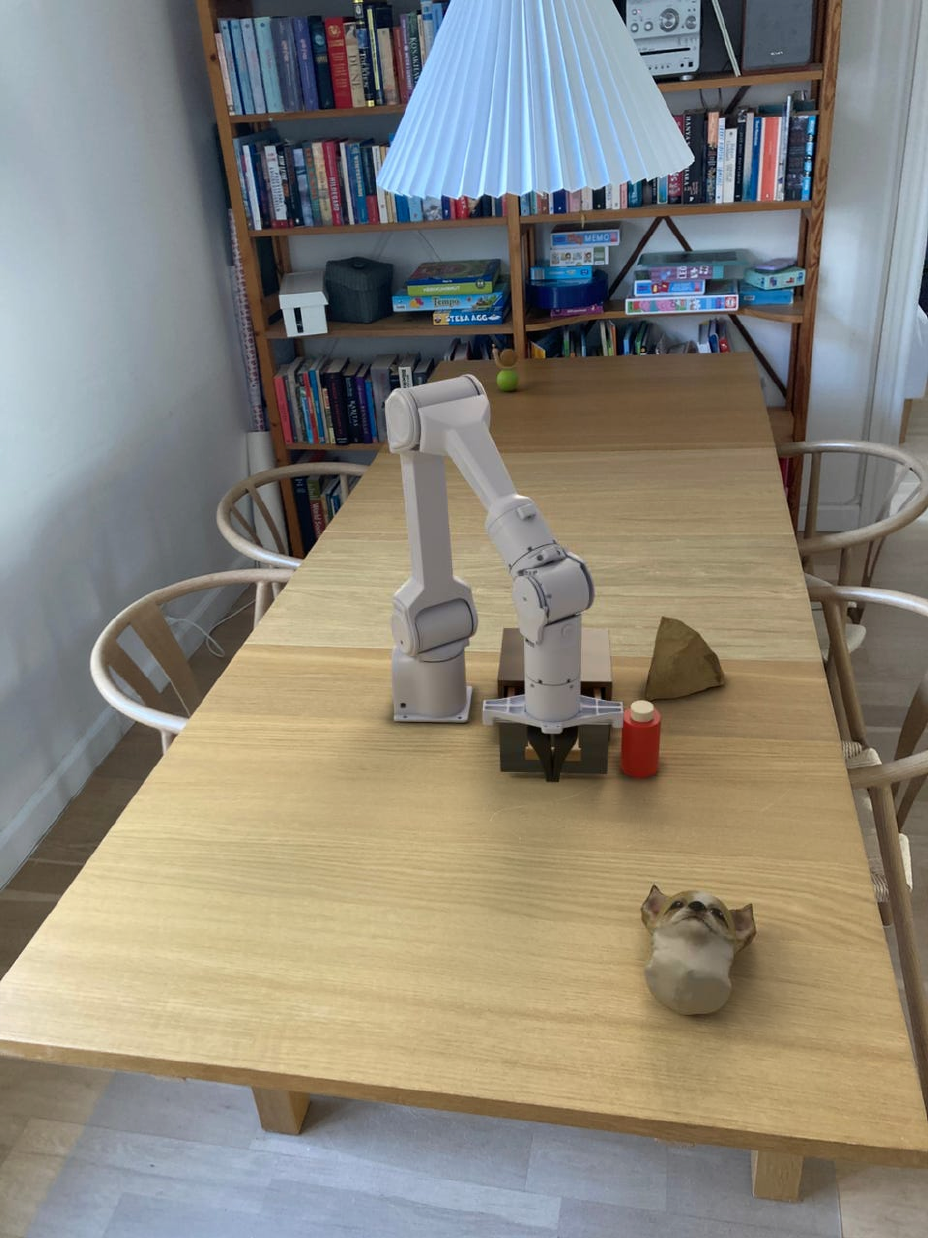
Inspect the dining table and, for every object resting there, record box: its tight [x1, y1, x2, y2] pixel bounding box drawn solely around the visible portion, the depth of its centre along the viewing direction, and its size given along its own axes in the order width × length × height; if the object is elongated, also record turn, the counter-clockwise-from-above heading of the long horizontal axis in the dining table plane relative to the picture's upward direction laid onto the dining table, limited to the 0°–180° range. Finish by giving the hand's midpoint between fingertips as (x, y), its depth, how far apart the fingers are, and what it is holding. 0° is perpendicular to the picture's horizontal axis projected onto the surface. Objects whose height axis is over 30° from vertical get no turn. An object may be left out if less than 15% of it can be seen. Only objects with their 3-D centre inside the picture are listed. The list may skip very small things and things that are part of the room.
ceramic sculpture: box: [639, 883, 757, 1016], centre depth 91 cm, size 11×9×15 cm
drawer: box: [498, 686, 609, 775], centre depth 119 cm, size 16×12×7 cm
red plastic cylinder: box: [619, 700, 662, 779], centre depth 117 cm, size 4×4×8 cm
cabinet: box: [496, 627, 613, 743], centre depth 128 cm, size 13×14×9 cm
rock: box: [644, 616, 726, 702], centre depth 132 cm, size 11×9×10 cm
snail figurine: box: [491, 343, 520, 392], centre depth 251 cm, size 5×6×12 cm
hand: (552, 776), depth 110 cm, fingers closed, pressing on drawer
